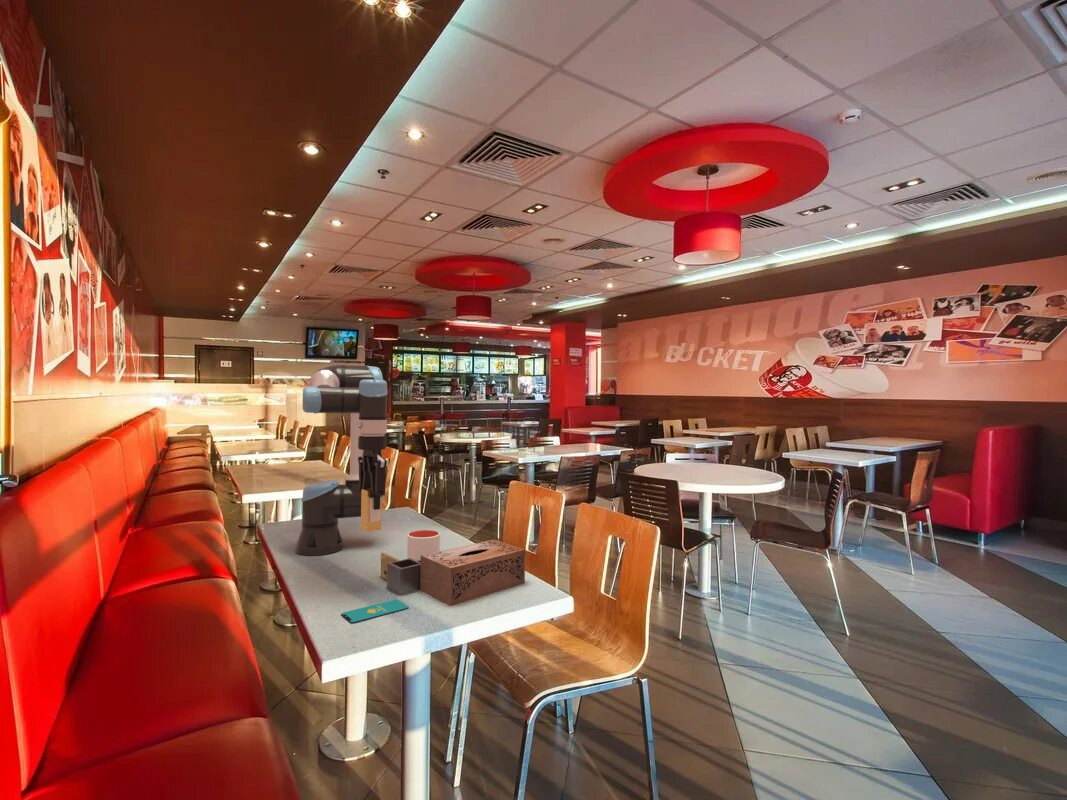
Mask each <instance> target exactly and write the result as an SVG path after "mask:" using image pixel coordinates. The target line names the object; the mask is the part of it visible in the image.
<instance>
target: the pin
mask: <svg viewBox="0 0 1067 800" xmlns="http://www.w3.org/2000/svg"><path fill="white" fill-rule="evenodd" d="M369 496H372V492H371V488H368V489H362V490H361V517H360V529H361V530H362V531H365V532H372V531H373V532H374V531H379V530H381V529H382V506H381V502H380V521H374V522H370V498H369Z"/></svg>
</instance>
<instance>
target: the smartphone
mask: <svg viewBox="0 0 1067 800" xmlns="http://www.w3.org/2000/svg"><path fill="white" fill-rule="evenodd" d="M409 609H410V608H409V606H408V605H407V604H405V603H404V602H402V601H400V600H399V599H391V600H387V601H385V602H380V603H379V602H378V603H375V604H371V605H367V606H363V607H360V608H355V609H352V610H348V611H343V612H341V613H340V616H341V617H342V618H343V619H344V620H345V621H347V622H348V623H349V624H351V625H352V624H353V625H354V624H359V623H362V622H366V621H369V620H374V619H376V618H380V617H384V616H389V615H390V614H395V613H399V612H402V611H405V610H409Z"/></svg>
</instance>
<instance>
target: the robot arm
mask: <svg viewBox="0 0 1067 800" xmlns="http://www.w3.org/2000/svg"><path fill="white" fill-rule="evenodd" d="M308 383H309V385H308V386H305V387H304V388H303V389H302V411H303V412H304V413H307V414H309V413H310V414H350V435H349V437H350V439H349V440H350V442H349V444H350V445H349V447H350V448H349V452H350V453H349V475H348V476H347V477H346V478H345V481H344V484H340V482H339V481H338V480H336V479H335V480H334V479H333V480H331V479H330V480H324V481H323V480H322V481H318V482H313V483H309V484H308V485H306V486H304V488H303V489H302V499H301V502H302V507H301V511H302V513H301V514H302V516H301V517H302V519H301V531H300V533H299V536H298V538H297V541H296V545H295V552H296V554H299V555H303V556H323V555H329V554H334V553H337V552H340V551H342V550H343V549H344V541H343V538H342V534H341V532H340V527H339V519H347V518H361V490H362V489H368V488H371V492H372V496H369V498H370V522H374V521H380V502H381V507H382V504H383V500H384V496H386V482H387V481H386V479H387V478H386V476H387V475H386V474H387V469H386V468H387V465H388V461H387V459H383V454H382V451H383V450H386V449H387V436H386V434H387V433H388V419H387V413H388V412H387V411H388V410H387V409H388V406H387V405H388V392H389V391H388V383H387V381H386V380H384V377H383V373H382V371H381V369H380V368H379V367H378V366H370V365H350V364H348V365H345V364H344V365H343V364H334V365H327V366H325V367H322V368H319V369H318V370H316V371H315V372H313V374H312V375H310V378H309V382H308Z"/></svg>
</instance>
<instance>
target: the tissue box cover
mask: <svg viewBox="0 0 1067 800" xmlns="http://www.w3.org/2000/svg"><path fill="white" fill-rule="evenodd" d="M525 572H526V549H524V548H521V547H518V546H514V545H511V544H508V543H505V542H502V541H500V540H496V539H490V540H485V541H482V542H478V543H472V544H467V545H462V546H459V547H454V548H450V549H449V548H448V549H445V550H440V551H439V552H435V553H430V554H425V555H421V563H420V590H419V591H420V592H421V593H423V592H424V593H423V594H425V593H426V594H425V595H427V594H428V595H427V596H429V595H430V596H429V597H431V596H432V597H431V598H433V599H434V600H438V601H439V602H441V603H443V604H445V605H447V606H449V607H453V606H456V605H459V604H461V603H462V604H463V603H466V602H468V601H471V600H475V599H478V598H482V597H486V596H489V595H491V594H495V593H498V592H502V591H504V590H509V589H511V588H515V587H518V586H522V585H524V584H525V582H526V581H525V580H526V579H525V577H526V575H525V574H526V573H525Z"/></svg>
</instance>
